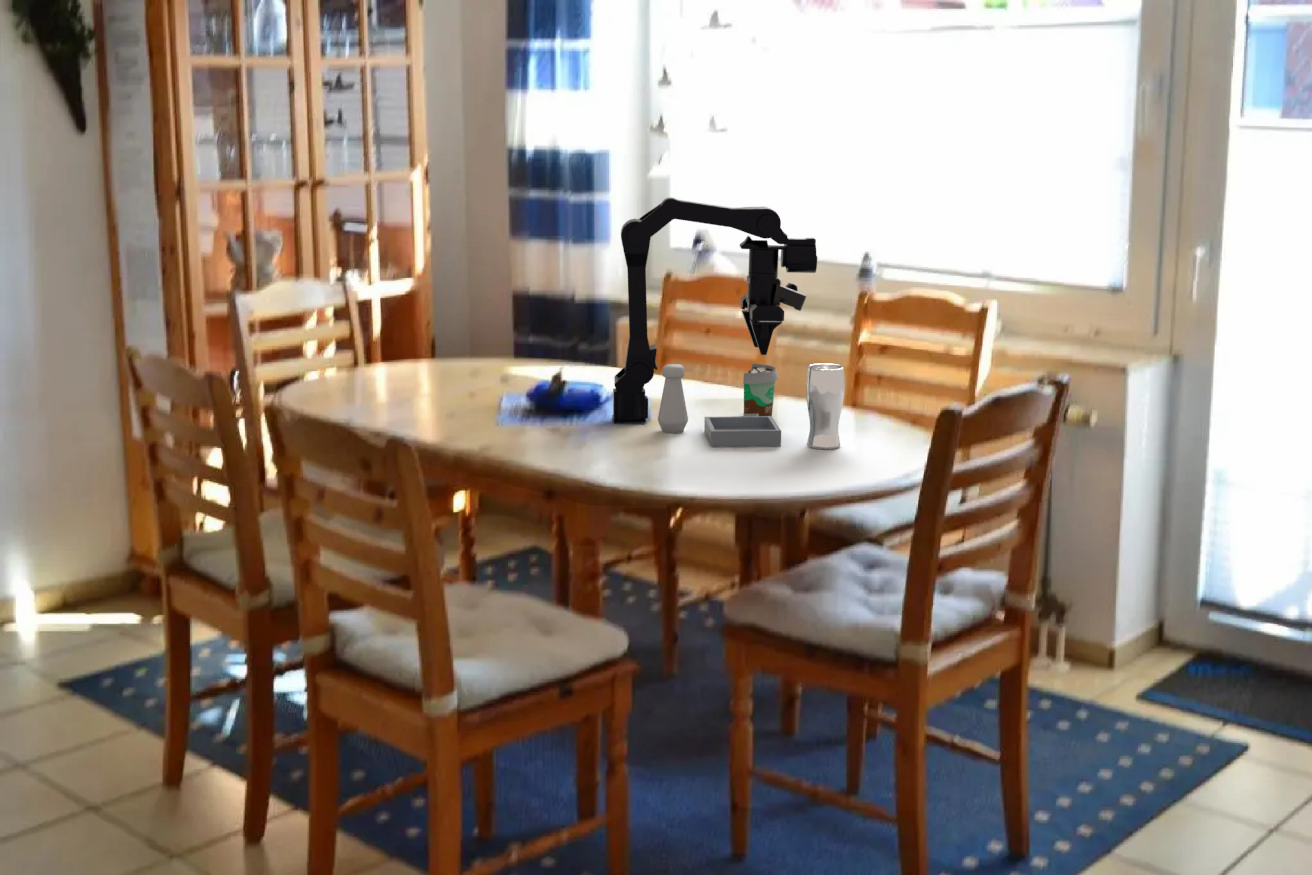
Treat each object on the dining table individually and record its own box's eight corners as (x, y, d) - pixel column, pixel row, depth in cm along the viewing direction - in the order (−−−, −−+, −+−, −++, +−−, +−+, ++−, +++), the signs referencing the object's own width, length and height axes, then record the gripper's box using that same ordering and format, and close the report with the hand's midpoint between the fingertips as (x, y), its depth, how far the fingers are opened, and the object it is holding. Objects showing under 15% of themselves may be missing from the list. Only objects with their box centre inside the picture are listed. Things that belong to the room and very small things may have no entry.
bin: (711, 447, 289) (711, 431, 289) (704, 431, 302) (704, 416, 301) (780, 446, 290) (781, 430, 290) (771, 431, 303) (771, 416, 302)
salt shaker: (666, 435, 299) (666, 368, 296) (652, 429, 304) (652, 363, 301) (693, 432, 302) (694, 366, 299) (679, 426, 307) (679, 361, 304)
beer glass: (832, 451, 286) (834, 371, 283) (798, 447, 290) (800, 367, 286) (848, 444, 292) (851, 365, 289) (815, 440, 296) (817, 362, 292)
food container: (773, 424, 309) (774, 374, 307) (742, 423, 310) (743, 373, 308) (781, 412, 321) (782, 364, 319) (751, 410, 322) (752, 362, 320)
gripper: (812, 278, 298) (808, 359, 301) (796, 267, 316) (793, 343, 319) (753, 277, 297) (751, 358, 300) (741, 266, 315) (738, 343, 318)
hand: (760, 350), depth 310 cm, fingers open, 9 cm apart
